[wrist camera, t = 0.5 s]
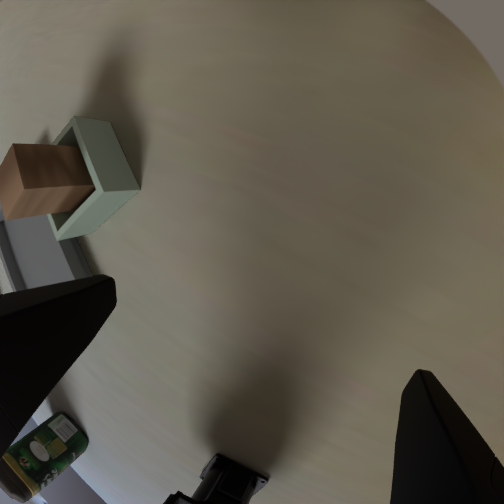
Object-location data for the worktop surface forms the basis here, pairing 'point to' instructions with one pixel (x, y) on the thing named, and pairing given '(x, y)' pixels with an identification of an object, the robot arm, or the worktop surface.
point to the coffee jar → (40, 457)
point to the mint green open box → (95, 177)
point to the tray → (38, 254)
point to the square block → (43, 180)
